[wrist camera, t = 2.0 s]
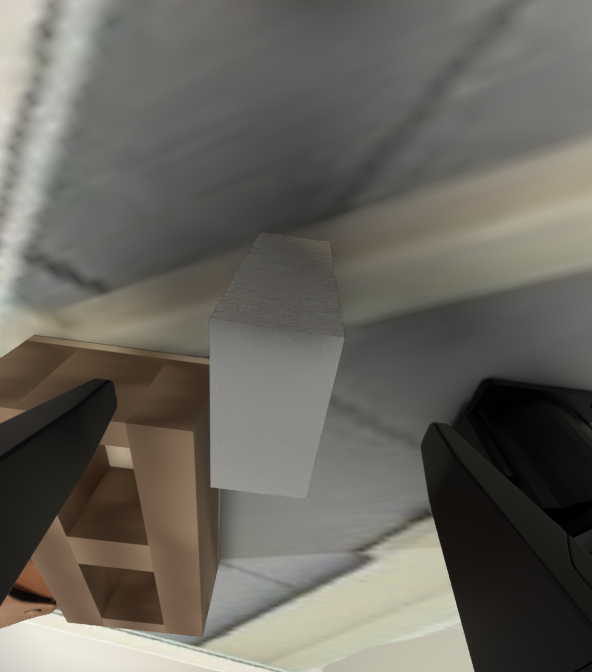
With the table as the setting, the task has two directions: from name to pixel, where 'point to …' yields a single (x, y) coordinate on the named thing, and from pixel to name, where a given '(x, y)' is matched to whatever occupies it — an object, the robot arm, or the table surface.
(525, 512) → the robot arm
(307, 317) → the grey block
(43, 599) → the sunglasses case
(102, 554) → the post block
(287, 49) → the table surface
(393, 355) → the table surface
